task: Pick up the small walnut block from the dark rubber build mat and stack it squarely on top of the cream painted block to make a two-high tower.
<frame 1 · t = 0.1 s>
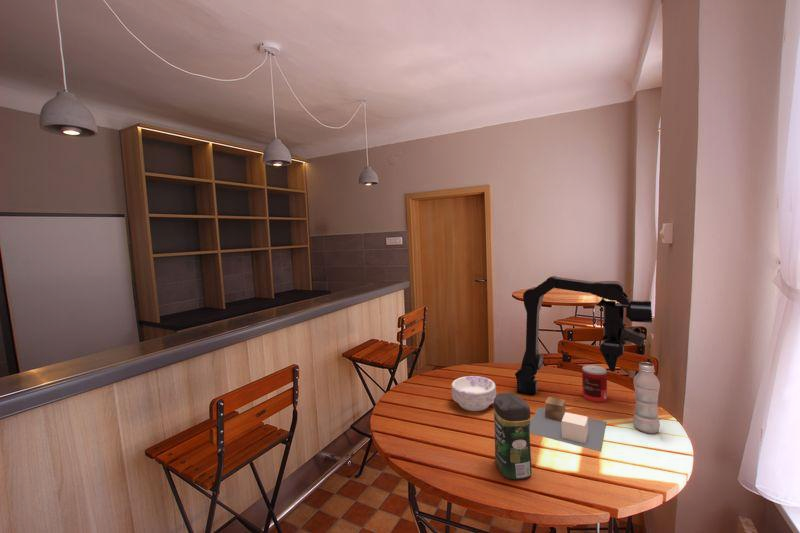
hand: (613, 366, 117), 15 cm above the table, tool pointing down, fingers open, 9 cm apart
canned food: (594, 399, 126), on the table
plastic bottle: (646, 431, 105), on the table
walnut block: (555, 416, 114), point 1 cm above the table, touching build mat
coffee jar: (512, 469, 90), on the table
cream block: (574, 435, 103), point 1 cm above the table, touching build mat
paper bowls: (474, 405, 125), on the table
build mat: (566, 428, 108), on the table
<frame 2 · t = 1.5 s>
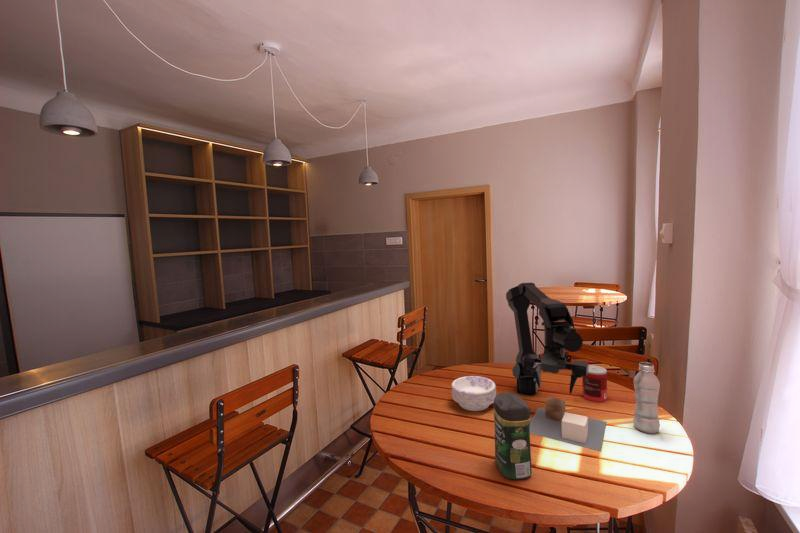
hand: (554, 390, 114), 9 cm above the table, tool pointing down, fingers open, 9 cm apart
nothing on the table moved.
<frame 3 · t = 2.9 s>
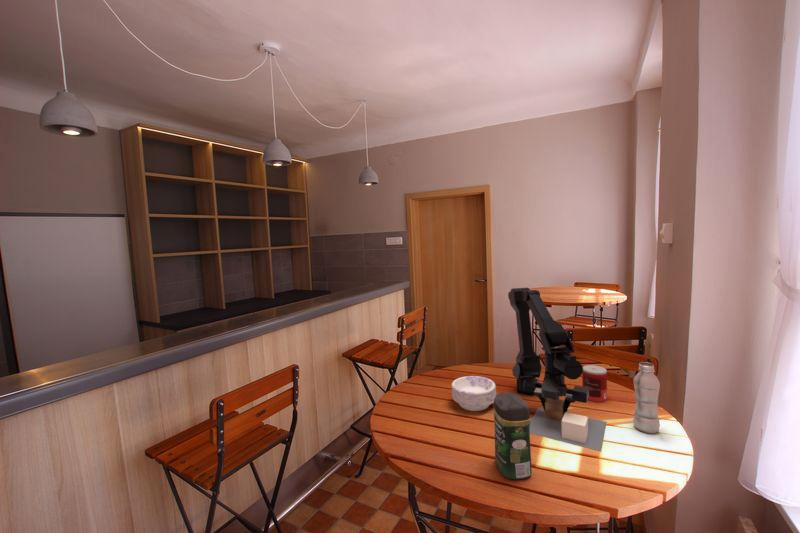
hand: (555, 415, 114), 1 cm above the table, tool pointing down, fingers closed on walnut block, 5 cm apart
walnut block: (555, 416, 114), point 1 cm above the table, touching build mat, gripper
everything else where it was.
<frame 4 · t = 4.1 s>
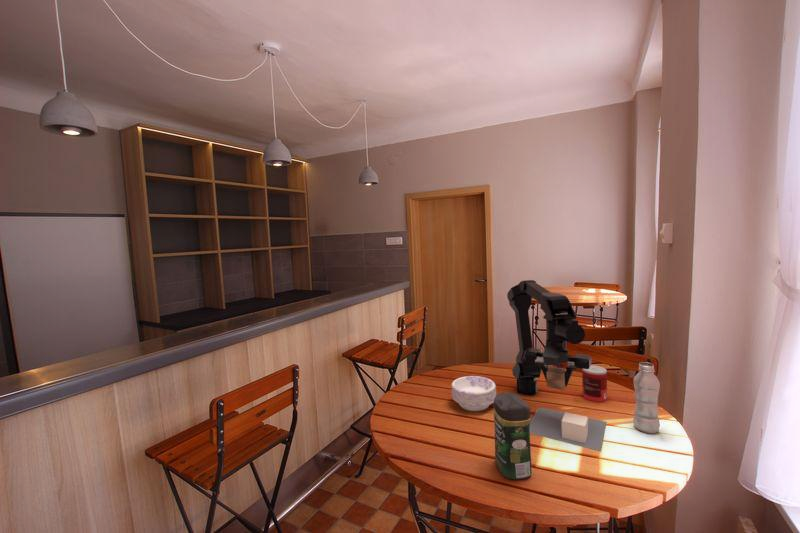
hand: (557, 384, 112), 12 cm above the table, tool pointing down, fingers closed on walnut block, 5 cm apart
walnut block: (557, 385, 112), point 11 cm above the table, touching gripper
everything else where it was.
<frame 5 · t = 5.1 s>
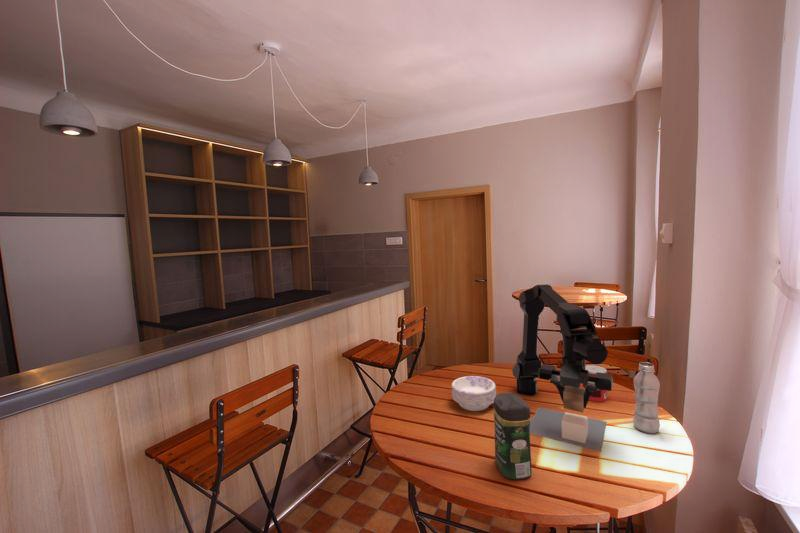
hand: (574, 405, 102), 9 cm above the table, tool pointing down, fingers closed on walnut block, 5 cm apart
walnut block: (574, 406, 102), point 9 cm above the table, touching gripper
everything else where it was.
when the fingers open (7 cm above the table, at t = 5.8 s): walnut block drops 1 cm, resting on cream block.
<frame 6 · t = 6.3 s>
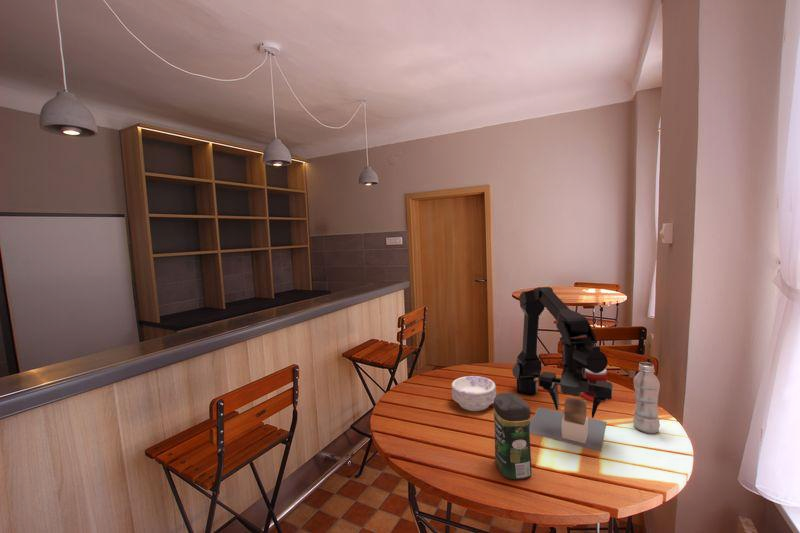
hand: (574, 413, 102), 7 cm above the table, tool pointing down, fingers open, 9 cm apart
walnut block: (575, 418, 102), point 6 cm above the table, touching cream block
cream block: (574, 435, 103), point 1 cm above the table, touching build mat, walnut block
everything else where it was.
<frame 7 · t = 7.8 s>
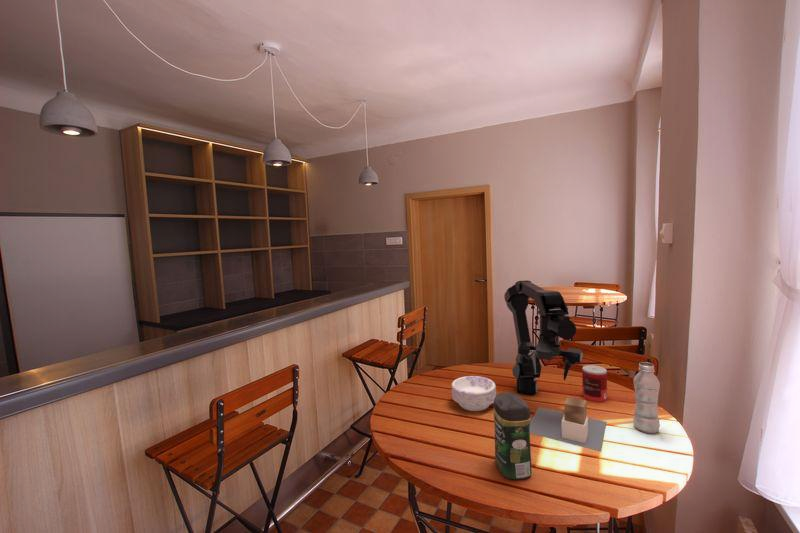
hand: (549, 377, 116), 13 cm above the table, tool pointing down, fingers open, 9 cm apart
nothing on the table moved.
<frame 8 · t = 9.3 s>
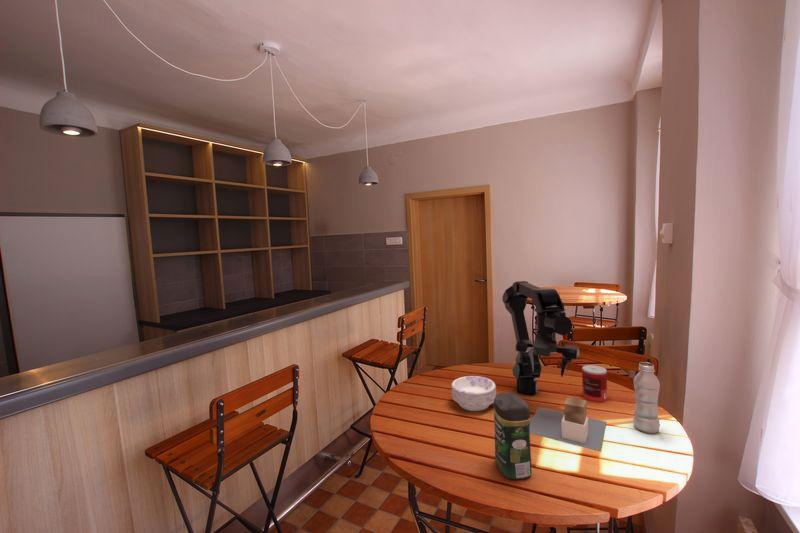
hand: (546, 374, 117), 13 cm above the table, tool pointing down, fingers open, 9 cm apart
nothing on the table moved.
at the end: walnut block 0.2 cm off-centre on the cream block, point 5.0 cm above the cream block's base; walnut block tilted 0°; the gripper is holding nothing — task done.
